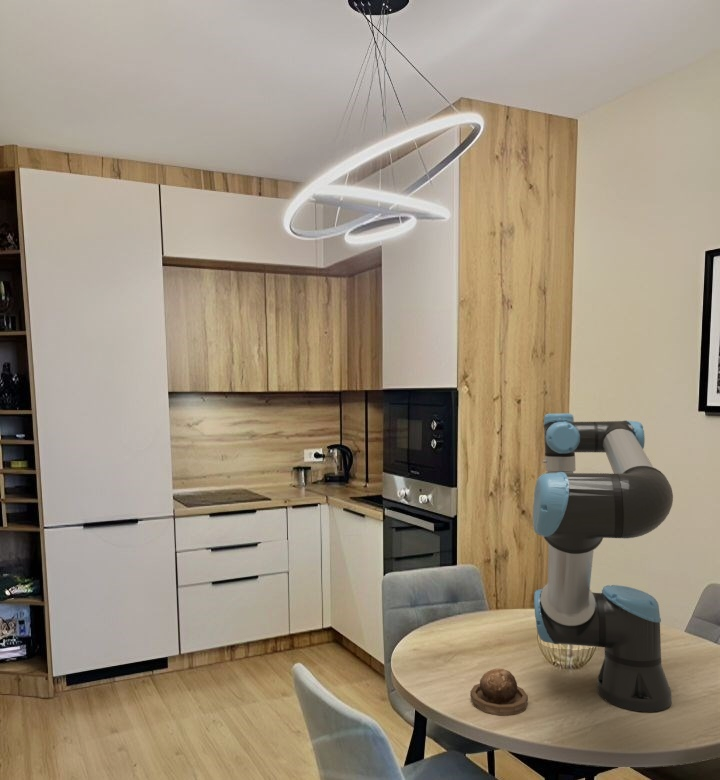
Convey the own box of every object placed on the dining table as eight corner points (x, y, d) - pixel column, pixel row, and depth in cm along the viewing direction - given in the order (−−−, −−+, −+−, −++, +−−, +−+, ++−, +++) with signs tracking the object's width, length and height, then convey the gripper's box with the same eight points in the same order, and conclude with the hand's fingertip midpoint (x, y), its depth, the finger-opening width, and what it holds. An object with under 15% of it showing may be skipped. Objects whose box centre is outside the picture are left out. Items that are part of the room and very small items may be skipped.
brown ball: (493, 670, 140) (494, 655, 136) (523, 692, 135) (525, 677, 131) (472, 695, 135) (473, 681, 132) (503, 719, 130) (504, 705, 127)
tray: (538, 704, 131) (538, 696, 131) (500, 721, 125) (499, 712, 125) (497, 684, 141) (497, 676, 141) (460, 698, 135) (460, 690, 135)
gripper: (540, 467, 170) (542, 542, 169) (550, 477, 146) (553, 565, 145) (568, 467, 169) (570, 543, 168) (583, 477, 144) (586, 566, 144)
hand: (562, 553), depth 157 cm, fingers open, 13 cm apart
